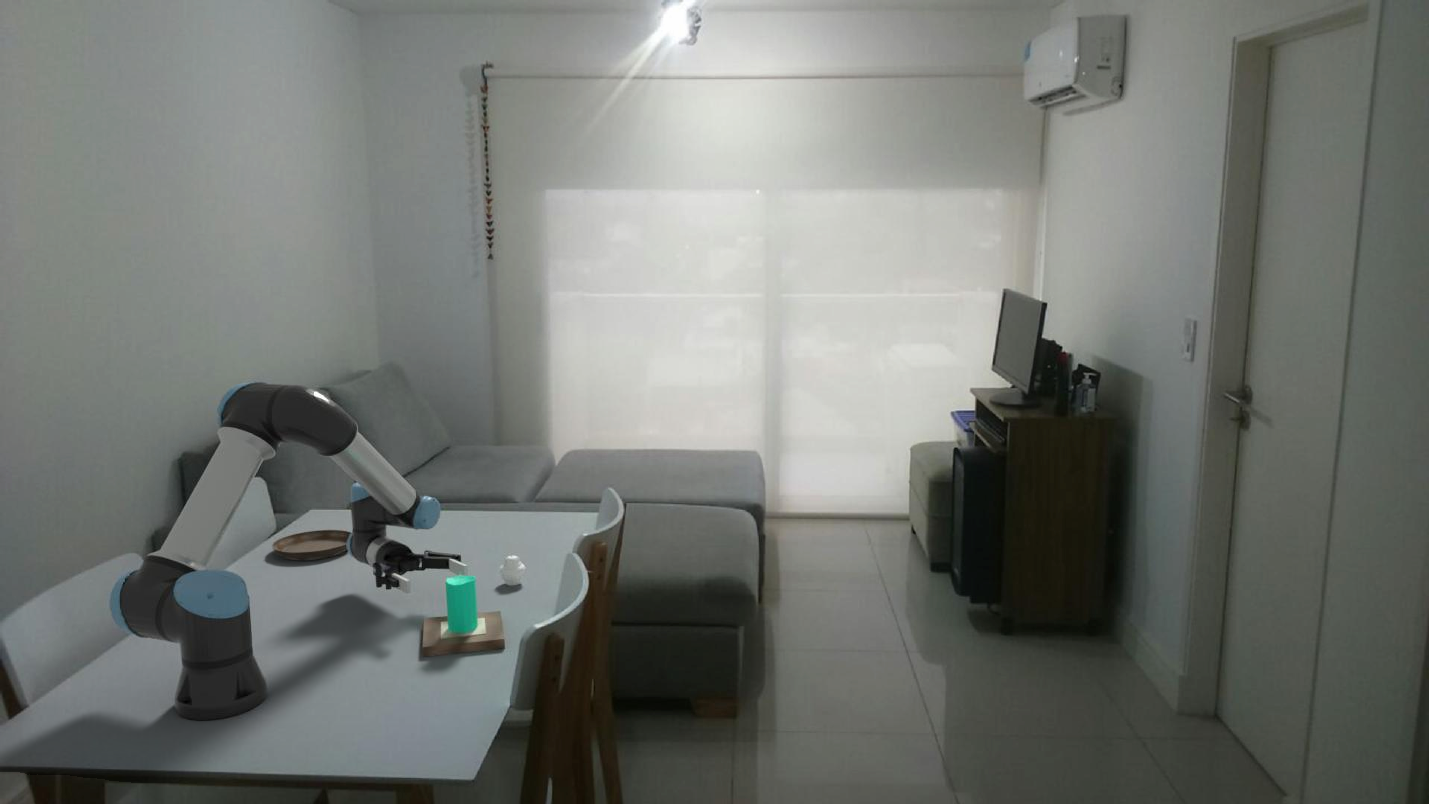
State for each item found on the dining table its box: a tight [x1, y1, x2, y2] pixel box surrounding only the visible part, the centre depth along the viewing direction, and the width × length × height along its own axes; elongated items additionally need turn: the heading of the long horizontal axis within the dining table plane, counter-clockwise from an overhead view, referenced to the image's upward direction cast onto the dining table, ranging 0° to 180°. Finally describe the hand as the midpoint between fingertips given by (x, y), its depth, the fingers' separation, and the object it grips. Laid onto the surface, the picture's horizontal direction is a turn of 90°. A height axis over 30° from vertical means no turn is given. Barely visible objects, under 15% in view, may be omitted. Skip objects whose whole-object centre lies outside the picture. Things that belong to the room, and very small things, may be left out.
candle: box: [445, 572, 478, 633], centre depth 219 cm, size 6×6×12 cm
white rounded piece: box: [498, 555, 526, 587], centre depth 253 cm, size 6×6×7 cm
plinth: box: [422, 610, 506, 657], centre depth 221 cm, size 16×16×2 cm
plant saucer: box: [271, 529, 352, 561], centre depth 280 cm, size 21×21×3 cm
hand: (438, 579), depth 226 cm, fingers open, 13 cm apart
